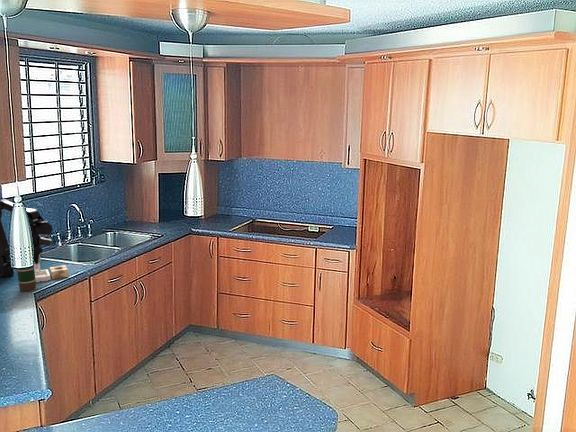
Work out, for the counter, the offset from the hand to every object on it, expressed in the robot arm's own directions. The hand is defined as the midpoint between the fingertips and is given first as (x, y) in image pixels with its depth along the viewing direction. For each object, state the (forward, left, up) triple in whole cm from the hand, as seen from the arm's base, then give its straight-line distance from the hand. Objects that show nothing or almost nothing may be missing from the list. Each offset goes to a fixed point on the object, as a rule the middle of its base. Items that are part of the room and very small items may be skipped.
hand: (36, 262), depth 304 cm
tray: (0, 0, -9) cm, 9 cm away
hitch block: (+11, 0, -9) cm, 14 cm away
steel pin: (0, 0, -6) cm, 6 cm away
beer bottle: (-6, -18, -9) cm, 21 cm away
